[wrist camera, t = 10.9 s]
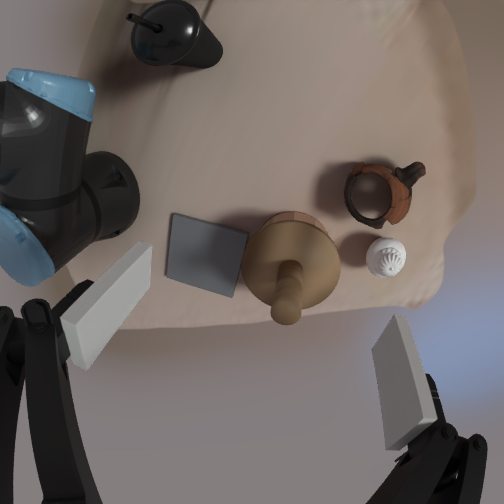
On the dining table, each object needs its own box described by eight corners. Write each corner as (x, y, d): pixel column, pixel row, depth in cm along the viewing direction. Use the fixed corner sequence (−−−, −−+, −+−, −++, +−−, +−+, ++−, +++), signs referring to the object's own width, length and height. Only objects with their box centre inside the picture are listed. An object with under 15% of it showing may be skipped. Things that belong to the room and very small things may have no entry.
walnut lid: (234, 290, 43) (216, 338, 34) (255, 207, 37) (238, 241, 28) (320, 314, 42) (320, 366, 33) (354, 237, 36) (368, 279, 27)
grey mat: (168, 275, 51) (166, 277, 50) (175, 212, 45) (173, 214, 45) (233, 295, 51) (232, 297, 50) (248, 233, 45) (247, 235, 44)
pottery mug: (383, 233, 42) (366, 247, 36) (346, 184, 44) (323, 188, 38) (442, 186, 34) (439, 190, 28) (400, 133, 36) (387, 126, 30)
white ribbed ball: (379, 220, 40) (392, 240, 34) (406, 243, 41) (421, 265, 35) (353, 251, 43) (360, 274, 37) (381, 271, 44) (391, 297, 38)
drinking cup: (183, 30, 32) (100, -10, 15) (235, 28, 31) (178, -29, 14) (178, 78, 36) (88, 64, 18) (230, 77, 35) (167, 52, 17)
